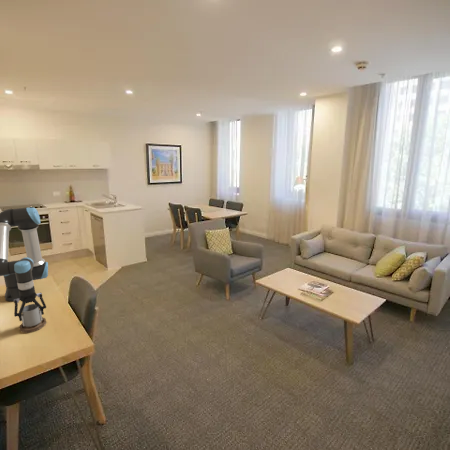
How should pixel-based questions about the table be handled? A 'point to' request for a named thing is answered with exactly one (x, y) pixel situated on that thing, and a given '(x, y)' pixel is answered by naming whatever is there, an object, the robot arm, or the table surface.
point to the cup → (31, 315)
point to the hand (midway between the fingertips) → (32, 322)
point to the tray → (33, 327)
